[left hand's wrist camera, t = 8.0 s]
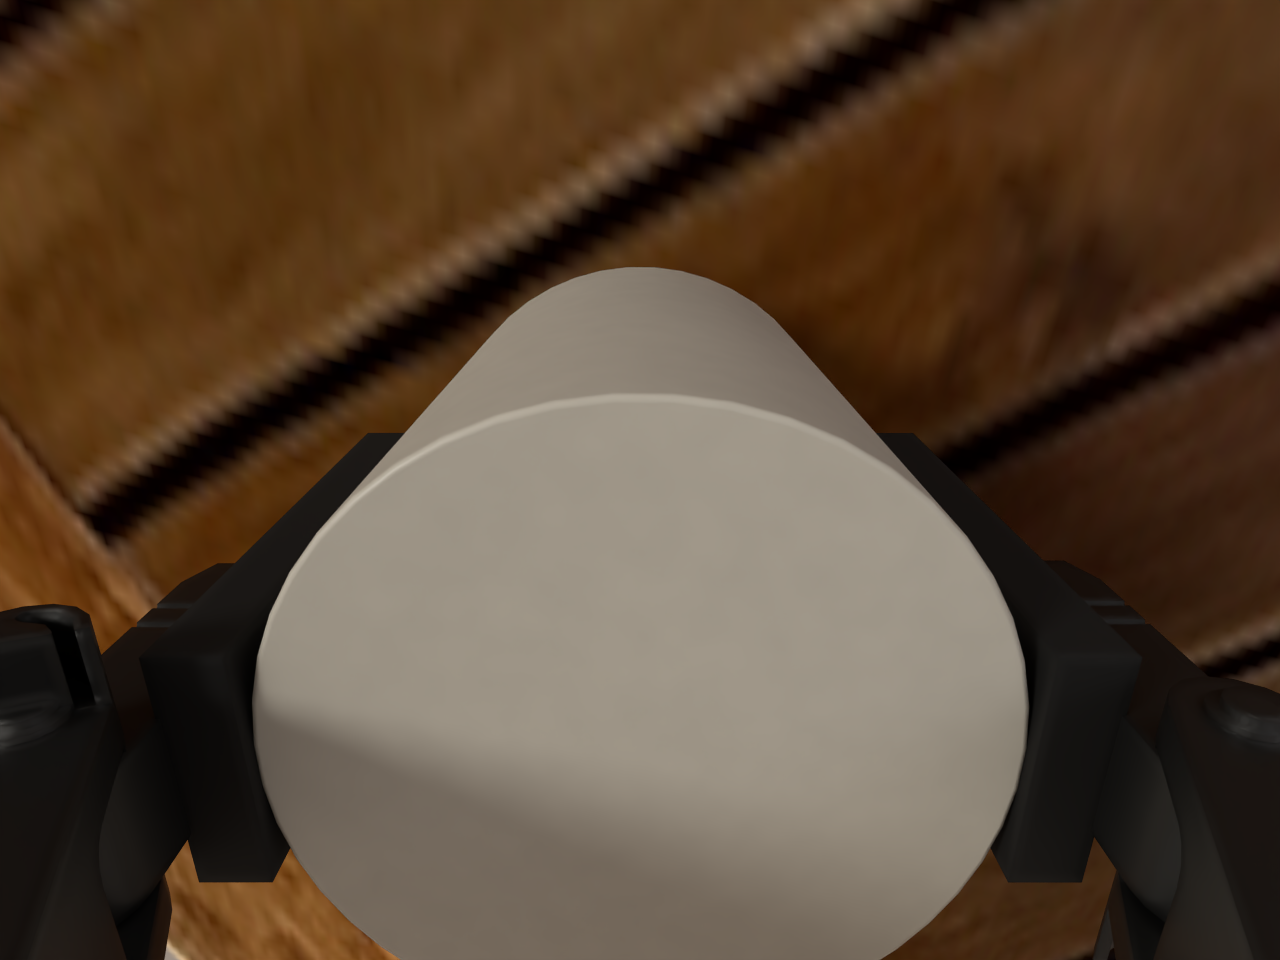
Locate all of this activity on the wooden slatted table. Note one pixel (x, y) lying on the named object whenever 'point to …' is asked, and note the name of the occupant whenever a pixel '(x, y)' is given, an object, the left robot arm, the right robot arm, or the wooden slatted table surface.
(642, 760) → the can
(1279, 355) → the wooden slatted table surface
